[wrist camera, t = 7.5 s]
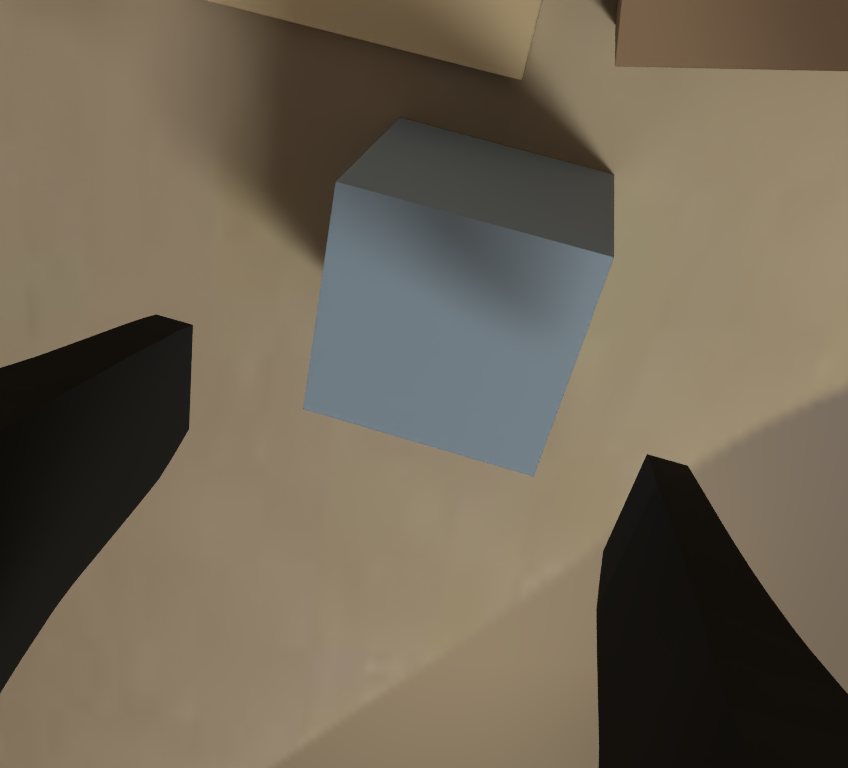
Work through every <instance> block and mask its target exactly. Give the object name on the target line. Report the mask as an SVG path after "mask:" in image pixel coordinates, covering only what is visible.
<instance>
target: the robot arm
mask: <svg viewBox="0 0 848 768" xmlns="http://www.w3.org/2000/svg"><path fill="white" fill-rule="evenodd" d="M192 333H193V325H191V324H188V323H184V322H181V321H177V320H174V319H170V318H167V317H163V316H160V315H153V316H149V317H146V318H142V319H139V320H136V321H133V322H130V323H128V324H125V325H122V326H119V327H116V328H114V329H111V330H108V331H105V332H103V333H100V334H97V335H95V336H92V337H89V338H87V339H84V340H81V341H78V342H75V343H73V344H70V345H67V346H64V347H62V348H59V349H56V350H53V351H51V352H48V353H45V354H42V355H39V356H37V357H34V358H30V359H27V360H24V361H21V362H18V363H15V364H12V365H8V366H5V367H2V368H0V693H1V691H2V689H3V688H4V686H5V684H6V683H7V681H8V680H9V678H10V676H11V675H12V673H13V672H14V670H15V668H16V667H17V665H18V664H19V662H20V660H21V659H22V657H23V656H24V654H25V653H26V651H27V650H28V648H29V647H30V645H31V644H32V642H33V641H34V639H35V638H36V636H37V635H38V633H39V632H40V630H41V629H42V627H43V625H44V624H45V622H46V621H47V619H48V618H49V616H50V615H51V613H52V612H53V610H54V609H55V607H56V606H57V605H58V603H59V602H60V601H61V599H62V598H63V597H64V595H65V594H66V593H67V591H68V590H69V589H70V587H71V586H72V585H73V583H74V582H75V581H76V580H77V578H78V577H79V576H80V575H81V574H82V572H83V571H84V570H85V569H86V568H87V566H88V565H89V564H90V563H91V561H92V560H93V559H94V558H95V557H96V555H97V554H98V553H99V552H100V551H101V549H102V548H103V547H104V546H105V544H106V543H107V542H108V541H109V540H110V538H111V537H112V536H113V535H114V534H115V532H116V531H117V530H118V529H119V528H120V526H121V525H122V524H123V523H124V521H125V520H126V519H127V518H128V517H129V515H130V514H131V513H132V512H133V510H134V509H135V508H136V507H137V506H138V504H139V503H140V502H141V501H142V499H143V498H144V497H145V496H146V494H147V493H148V492H149V491H150V489H151V488H152V487H153V486H154V484H155V483H156V482H157V481H158V479H159V478H160V476H161V475H162V473H163V472H164V470H165V468H166V467H167V465H168V464H169V462H170V460H171V459H172V457H173V456H174V454H175V452H176V450H177V449H178V447H179V445H180V443H181V442H182V440H183V438H184V437H185V435H186V433H187V431H188V430H189V414H190V387H191V360H192ZM597 667H598V669H597V670H598V713H599V768H848V694H847V693H846V691H845V690H844V689H843V688H842V687H841V686H840V685H839V683H838V682H837V681H836V680H835V679H834V677H833V676H832V675H831V674H830V673H829V672H828V670H827V669H826V668H825V667H824V666H823V665H822V663H821V662H820V661H819V660H818V659H817V657H816V656H815V655H814V654H813V653H812V652H811V650H810V649H809V648H808V647H807V645H806V644H805V643H804V642H803V640H802V639H801V638H800V637H799V635H798V634H797V633H796V632H795V630H794V629H793V628H792V626H791V625H790V623H789V622H788V621H787V619H786V618H785V617H784V615H783V614H782V612H781V611H780V610H779V609H778V607H777V606H776V604H775V603H774V602H773V600H772V599H771V598H770V596H769V595H768V593H767V592H766V590H765V589H764V588H763V586H762V585H761V583H760V582H759V580H758V579H757V577H756V576H755V574H754V573H753V571H752V570H751V568H750V567H749V566H748V564H747V562H746V561H745V559H744V558H743V556H742V554H741V553H740V551H739V550H738V548H737V547H736V545H735V544H734V542H733V540H732V539H731V537H730V535H729V534H728V532H727V530H726V529H725V527H724V526H723V524H722V522H721V521H720V519H719V517H718V516H717V514H716V512H715V511H714V509H713V507H712V506H711V504H710V502H709V500H708V499H707V497H706V495H705V494H704V492H703V490H702V489H701V487H700V485H699V484H698V482H697V480H696V479H695V477H694V475H693V474H692V472H691V470H690V469H689V467H688V466H686V465H683V464H679V463H676V462H672V461H669V460H665V459H662V458H658V457H655V456H651V455H648V454H647V456H646V458H645V460H644V462H643V464H642V467H641V469H640V471H639V473H638V476H637V478H636V480H635V482H634V484H633V487H632V489H631V491H630V493H629V495H628V498H627V500H626V502H625V504H624V507H623V509H622V511H621V513H620V515H619V518H618V520H617V522H616V524H615V526H614V529H613V531H612V533H611V535H610V537H609V540H608V542H607V544H606V546H605V549H604V551H603V558H602V566H601V574H600V583H599V591H598V601H597Z"/></svg>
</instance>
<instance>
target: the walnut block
mask: <svg viewBox="0 0 848 768" xmlns="http://www.w3.org/2000/svg"><path fill="white" fill-rule="evenodd" d="M615 66H622V67H671V68H720V69H769V70H818V71H848V0H618V6H617V16H616V29H615Z"/></svg>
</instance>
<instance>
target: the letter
mask: <svg viewBox="0 0 848 768" xmlns="http://www.w3.org/2000/svg"><path fill="white" fill-rule="evenodd" d="M207 1H211V2H215V3H219V4H222V5H226V6H230V7H234V8H238V9H242V10H246V11H250V12H254V13H258V14H262V15H266V16H270V17H274V18H278V19H282V20H286V21H290V22H293V23H297V24H301V25H305V26H309V27H313V28H317V29H321V30H325V31H329V32H333V33H337V34H341V35H345V36H349V37H353V38H357V39H360V40H364V41H368V42H372V43H376V44H380V45H384V46H388V47H392V48H396V49H400V50H404V51H408V52H412V53H416V54H420V55H424V56H428V57H431V58H435V59H439V60H443V61H447V62H451V63H455V64H459V65H463V66H467V67H471V68H475V69H479V70H483V71H487V72H491V73H495V74H499V75H502V76H506V77H510V78H514V79H518V80H521V79H522V78H523V74H524V70H525V66H526V62H527V58H528V54H529V50H530V46H531V42H532V38H533V34H534V30H535V26H536V22H537V18H538V15H539V11H540V7H541V3H542V0H207Z"/></svg>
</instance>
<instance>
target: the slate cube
mask: <svg viewBox="0 0 848 768" xmlns="http://www.w3.org/2000/svg"><path fill="white" fill-rule="evenodd" d="M613 258H614V174H610V173H606V172H602V171H599V170H595V169H591V168H587V167H584V166H580V165H576V164H572V163H569V162H565V161H561V160H557V159H554V158H550V157H546V156H542V155H539V154H535V153H531V152H527V151H524V150H520V149H516V148H512V147H509V146H505V145H501V144H497V143H494V142H490V141H486V140H482V139H479V138H475V137H471V136H467V135H464V134H460V133H456V132H452V131H449V130H445V129H441V128H437V127H434V126H430V125H426V124H422V123H419V122H415V121H411V120H407V119H404V118H399V119H398V120H397V121H396V122H395V123H394V124H393V125H392V126H391V127H390V128H389V129H388V130H387V131H386V132H385V133H384V134H383V135H382V136H381V137H380V138H379V139H378V140H377V141H376V142H375V143H374V144H373V145H372V146H371V147H370V148H369V149H368V150H367V151H366V152H365V153H364V154H363V155H362V156H361V157H360V158H359V159H358V160H357V161H356V162H355V163H354V164H353V165H352V166H351V167H350V168H349V169H348V170H347V171H346V172H345V173H344V174H343V175H342V176H341V177H340V178H339V179H338V180H337V181H336V183H335V190H334V197H333V204H332V211H331V218H330V225H329V232H328V239H327V246H326V253H325V260H324V267H323V274H322V281H321V288H320V295H319V302H318V309H317V316H316V323H315V330H314V337H313V344H312V351H311V358H310V365H309V371H308V378H307V385H306V392H305V399H304V406H303V409H305V410H308V411H312V412H315V413H319V414H322V415H325V416H329V417H332V418H336V419H339V420H342V421H346V422H349V423H353V424H356V425H360V426H363V427H366V428H370V429H373V430H377V431H380V432H383V433H387V434H390V435H394V436H397V437H400V438H404V439H407V440H411V441H414V442H418V443H421V444H424V445H428V446H431V447H435V448H438V449H441V450H445V451H448V452H452V453H455V454H458V455H462V456H465V457H469V458H472V459H475V460H479V461H482V462H486V463H489V464H493V465H496V466H499V467H503V468H506V469H510V470H513V471H516V472H520V473H523V474H527V475H530V476H533V477H534V474H535V472H536V469H537V466H538V463H539V461H540V458H541V455H542V453H543V450H544V447H545V444H546V442H547V439H548V436H549V433H550V431H551V428H552V425H553V422H554V420H555V417H556V414H557V412H558V409H559V406H560V403H561V401H562V398H563V395H564V392H565V390H566V387H567V384H568V381H569V379H570V376H571V373H572V371H573V368H574V365H575V362H576V360H577V357H578V354H579V351H580V349H581V346H582V343H583V340H584V338H585V335H586V332H587V330H588V327H589V324H590V321H591V319H592V316H593V313H594V310H595V308H596V305H597V302H598V299H599V297H600V294H601V291H602V289H603V286H604V283H605V280H606V278H607V275H608V272H609V269H610V267H611V264H612V261H613Z"/></svg>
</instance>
